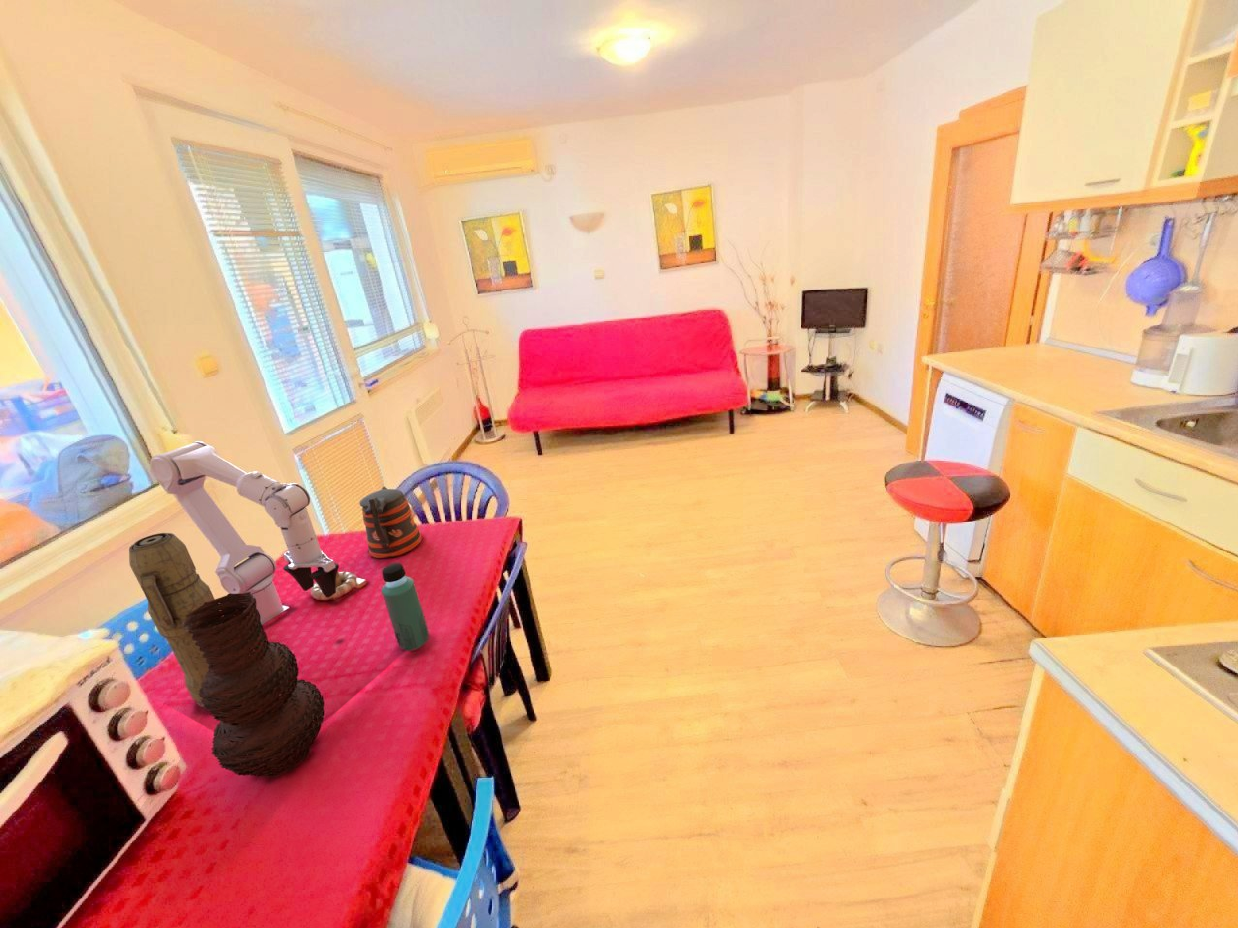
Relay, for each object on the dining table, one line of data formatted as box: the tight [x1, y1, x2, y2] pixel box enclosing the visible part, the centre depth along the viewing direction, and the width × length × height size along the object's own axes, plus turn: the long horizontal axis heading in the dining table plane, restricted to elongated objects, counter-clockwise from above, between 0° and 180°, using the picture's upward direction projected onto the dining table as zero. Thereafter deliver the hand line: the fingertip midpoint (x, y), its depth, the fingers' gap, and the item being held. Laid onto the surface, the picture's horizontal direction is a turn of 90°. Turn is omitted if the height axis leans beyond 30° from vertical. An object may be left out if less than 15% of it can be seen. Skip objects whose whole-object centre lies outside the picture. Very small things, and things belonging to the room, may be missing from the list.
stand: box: [332, 570, 368, 601], centre depth 129 cm, size 9×9×7 cm
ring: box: [310, 571, 358, 601], centre depth 128 cm, size 10×10×2 cm
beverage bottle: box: [381, 562, 430, 652], centre depth 104 cm, size 6×7×20 cm
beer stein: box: [359, 486, 422, 559], centre depth 144 cm, size 19×15×20 cm
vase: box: [180, 592, 326, 780], centre depth 80 cm, size 15×15×30 cm
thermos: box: [128, 532, 216, 708], centre depth 93 cm, size 9×12×35 cm
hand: (319, 591), depth 115 cm, fingers open, 7 cm apart
